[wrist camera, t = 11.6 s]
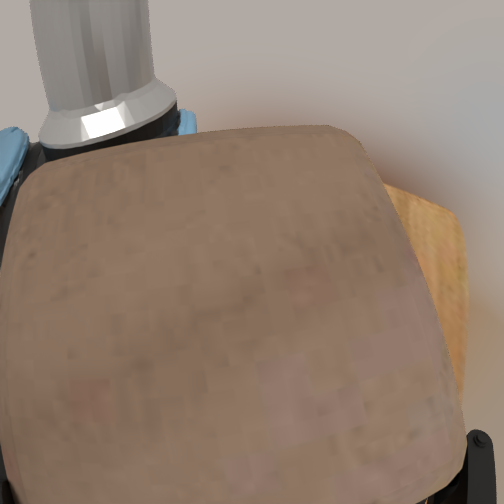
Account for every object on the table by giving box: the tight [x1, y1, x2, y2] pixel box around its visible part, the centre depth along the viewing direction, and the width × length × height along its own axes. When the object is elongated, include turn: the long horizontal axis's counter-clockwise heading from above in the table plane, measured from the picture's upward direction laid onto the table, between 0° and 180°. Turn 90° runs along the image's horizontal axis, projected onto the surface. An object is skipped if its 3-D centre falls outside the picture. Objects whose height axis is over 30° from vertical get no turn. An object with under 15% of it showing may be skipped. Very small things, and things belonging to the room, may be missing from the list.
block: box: [0, 125, 467, 504], centre depth 14 cm, size 10×10×20 cm
